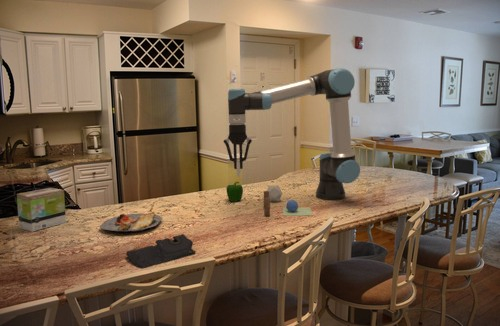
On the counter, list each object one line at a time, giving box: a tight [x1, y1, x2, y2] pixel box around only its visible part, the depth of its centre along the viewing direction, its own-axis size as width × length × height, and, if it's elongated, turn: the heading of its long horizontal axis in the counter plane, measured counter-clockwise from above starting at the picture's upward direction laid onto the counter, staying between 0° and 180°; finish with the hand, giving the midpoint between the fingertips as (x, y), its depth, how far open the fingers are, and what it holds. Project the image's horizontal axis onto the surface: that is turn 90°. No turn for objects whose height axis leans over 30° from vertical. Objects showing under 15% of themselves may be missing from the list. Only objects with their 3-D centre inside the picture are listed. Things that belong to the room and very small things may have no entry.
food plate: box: [99, 211, 163, 233], centre depth 167 cm, size 25×23×4 cm
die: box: [266, 184, 283, 203], centre depth 204 cm, size 8×9×10 cm
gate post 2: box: [263, 197, 271, 218], centre depth 178 cm, size 3×3×8 cm
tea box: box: [16, 187, 67, 233], centre depth 168 cm, size 15×10×15 cm, turn 148°
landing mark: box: [281, 206, 314, 217], centre depth 184 cm, size 13×13×1 cm
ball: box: [285, 199, 299, 212], centre depth 184 cm, size 6×6×6 cm
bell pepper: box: [225, 181, 244, 202], centre depth 205 cm, size 8×8×10 cm
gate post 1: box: [263, 190, 269, 199], centre depth 190 cm, size 3×3×8 cm
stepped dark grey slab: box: [126, 233, 197, 269], centre depth 136 cm, size 15×22×5 cm
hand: (238, 175), depth 183 cm, fingers closed
